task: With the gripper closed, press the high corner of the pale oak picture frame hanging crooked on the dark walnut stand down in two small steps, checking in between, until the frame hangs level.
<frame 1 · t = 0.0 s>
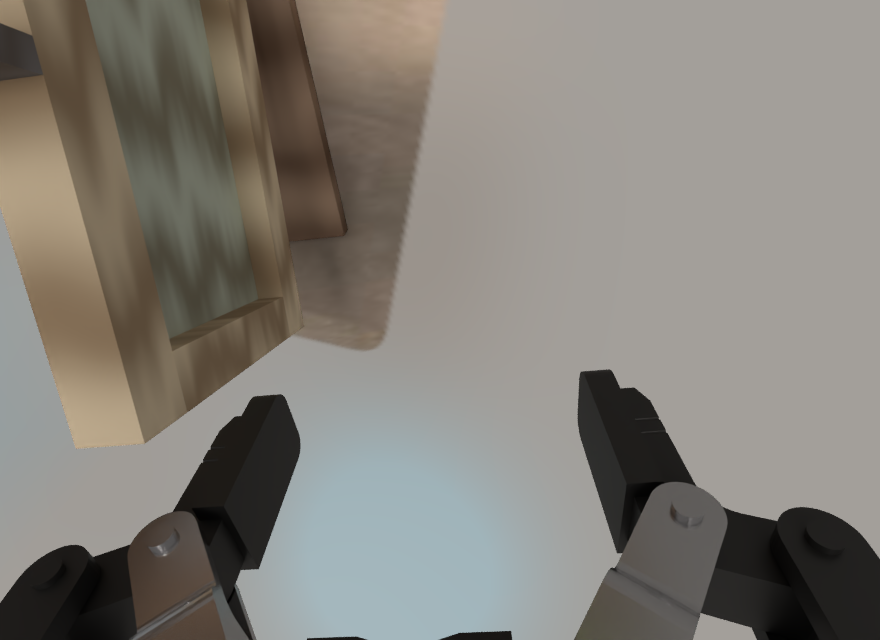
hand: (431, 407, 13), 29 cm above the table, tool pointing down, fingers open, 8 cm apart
frame: (156, 110, 20), point 17 cm above the table, hinge at -18.0°
stand: (227, 39, 34), on the table
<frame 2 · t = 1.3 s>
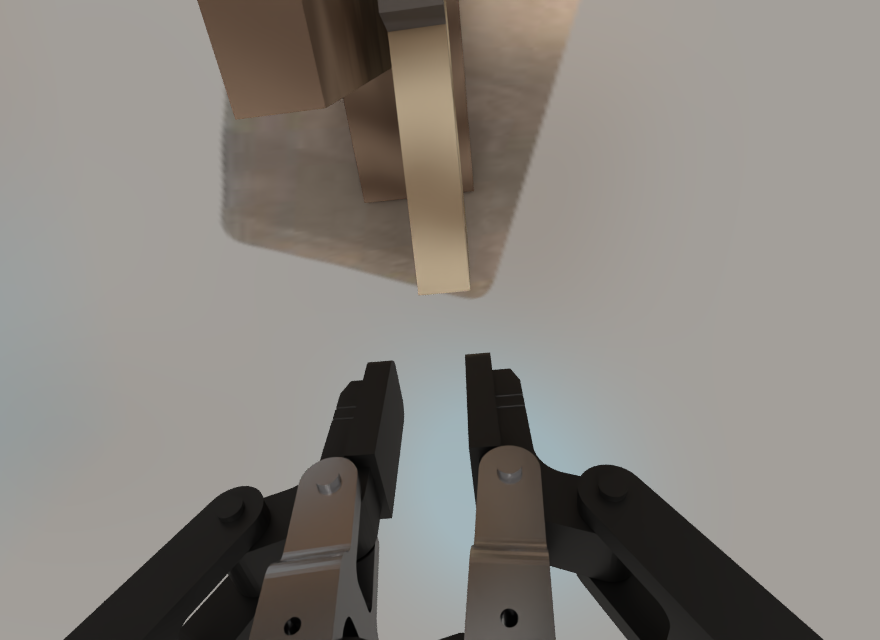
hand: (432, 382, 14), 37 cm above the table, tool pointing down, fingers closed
frame: (428, 63, 27), point 17 cm above the table, hinge at -18.0°
stand: (395, 20, 40), on the table
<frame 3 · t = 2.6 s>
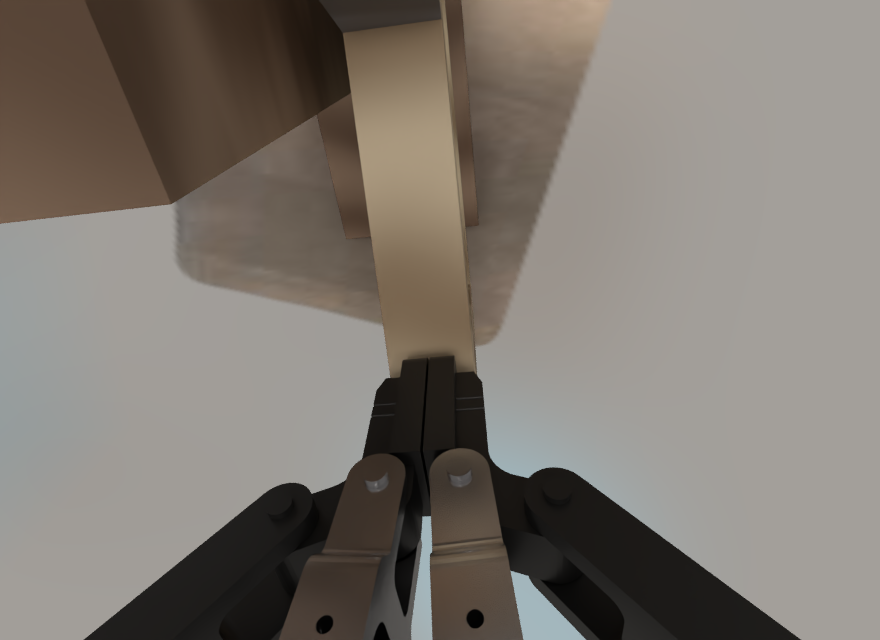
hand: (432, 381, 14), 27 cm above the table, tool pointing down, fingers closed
frame: (417, 77, 18), point 17 cm above the table, hinge at -17.7°, touching gripper
stand: (380, 17, 32), on the table
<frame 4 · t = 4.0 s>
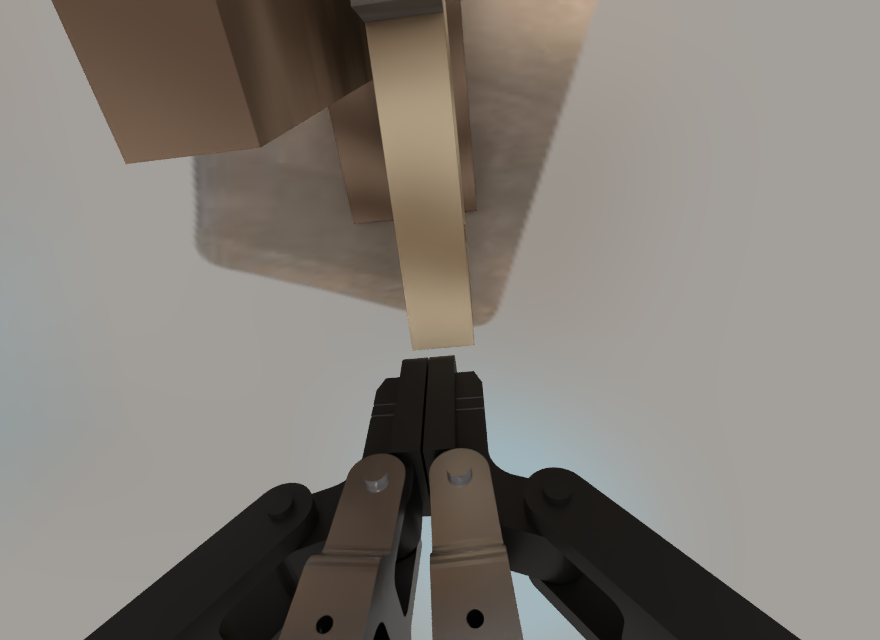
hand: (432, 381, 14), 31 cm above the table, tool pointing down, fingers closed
frame: (419, 41, 21), point 17 cm above the table, hinge at -10.4°
stand: (387, 18, 35), on the table
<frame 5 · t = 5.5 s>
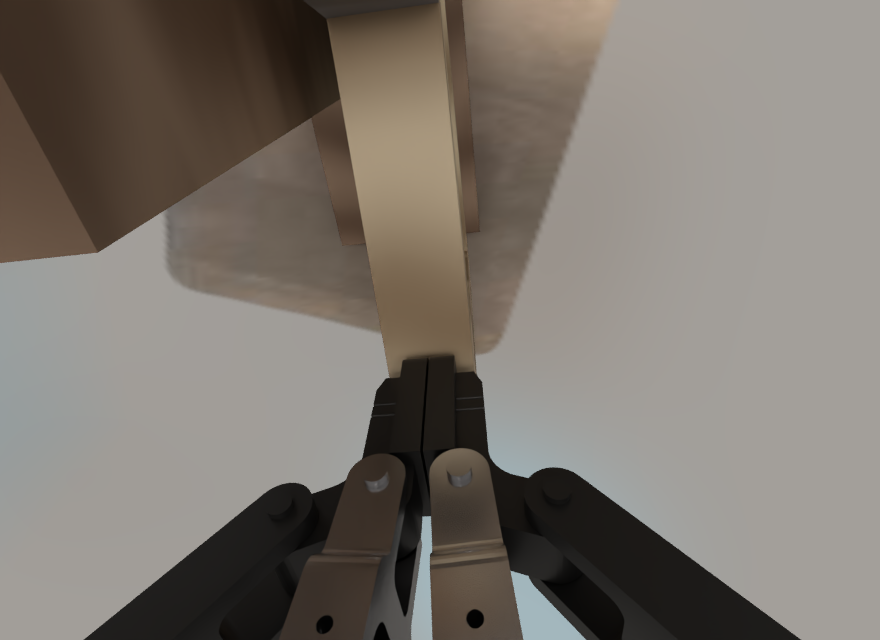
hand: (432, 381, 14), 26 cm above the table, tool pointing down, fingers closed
frame: (410, 37, 17), point 17 cm above the table, hinge at -9.1°, touching gripper
stand: (377, 14, 31), on the table
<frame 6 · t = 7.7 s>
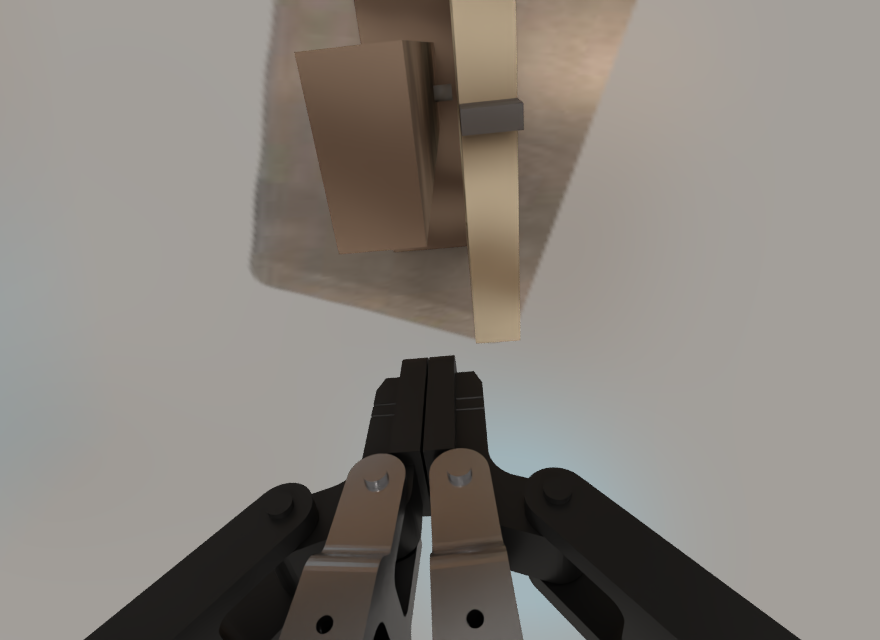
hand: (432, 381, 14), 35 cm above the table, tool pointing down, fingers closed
frame: (479, 97, 27), point 17 cm above the table, hinge at 0.1°
stand: (432, 82, 41), on the table
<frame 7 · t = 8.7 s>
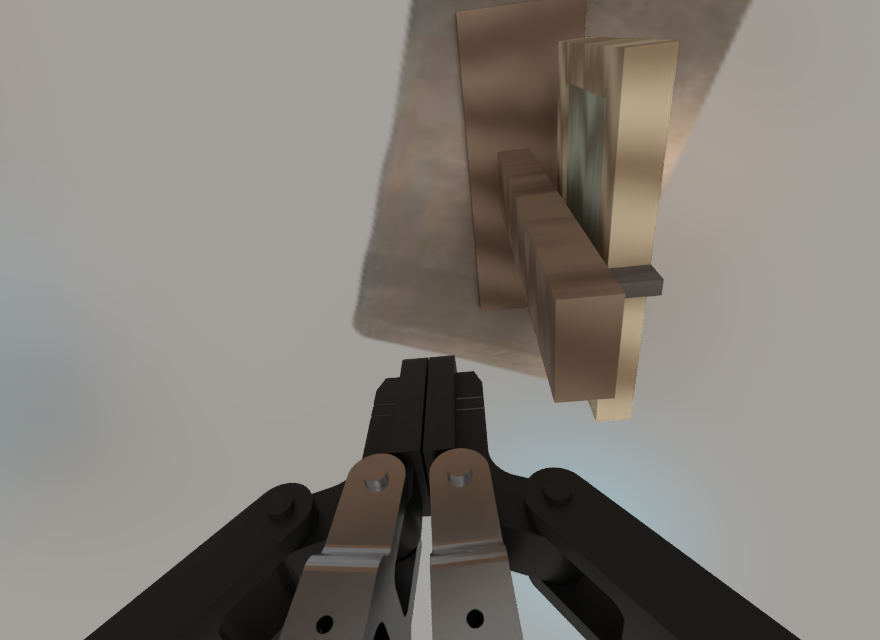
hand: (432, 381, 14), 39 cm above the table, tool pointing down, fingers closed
frame: (597, 231, 34), point 17 cm above the table, hinge at 0.1°
stand: (522, 175, 49), on the table
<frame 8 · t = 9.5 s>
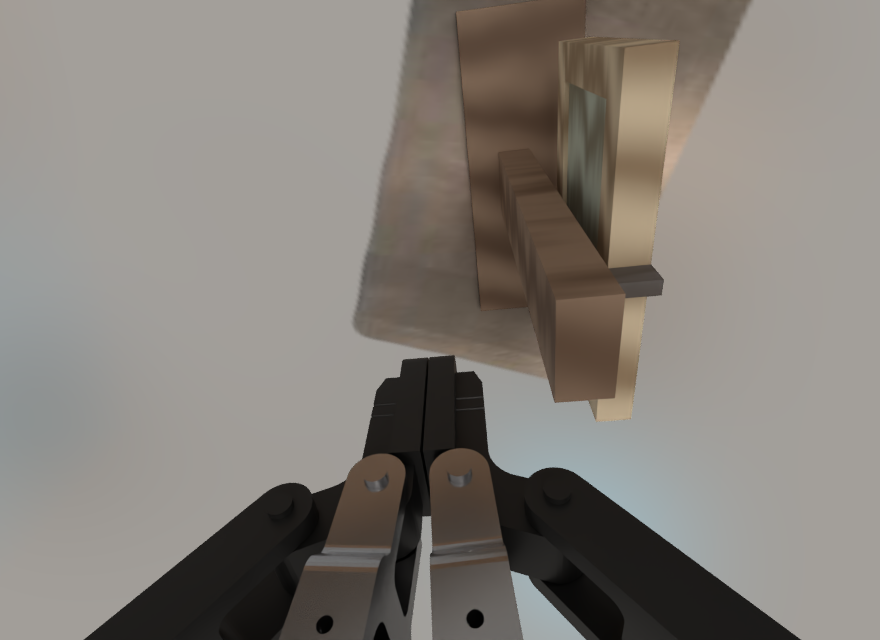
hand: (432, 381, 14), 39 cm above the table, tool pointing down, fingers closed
frame: (597, 231, 34), point 17 cm above the table, hinge at 0.1°
stand: (522, 175, 49), on the table
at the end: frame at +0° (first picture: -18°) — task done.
